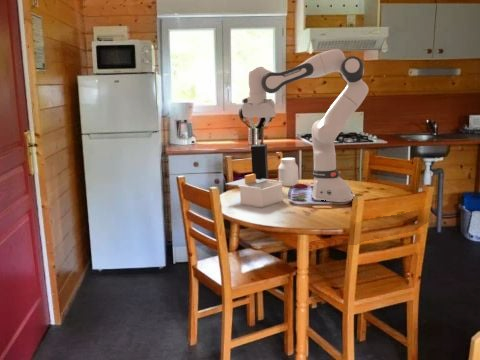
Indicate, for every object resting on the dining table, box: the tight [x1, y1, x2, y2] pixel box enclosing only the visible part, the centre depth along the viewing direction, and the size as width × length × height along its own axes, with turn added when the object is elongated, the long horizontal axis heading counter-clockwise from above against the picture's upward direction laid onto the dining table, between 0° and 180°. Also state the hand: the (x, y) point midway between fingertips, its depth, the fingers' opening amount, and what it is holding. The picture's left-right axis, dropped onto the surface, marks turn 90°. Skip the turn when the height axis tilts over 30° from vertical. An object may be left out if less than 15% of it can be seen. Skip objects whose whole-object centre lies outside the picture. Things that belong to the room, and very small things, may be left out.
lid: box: [225, 173, 267, 187], centre depth 244 cm, size 14×16×5 cm
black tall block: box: [250, 139, 269, 180], centre depth 269 cm, size 8×8×28 cm
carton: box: [237, 178, 284, 209], centre depth 239 cm, size 14×18×10 cm
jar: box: [277, 157, 300, 187], centre depth 278 cm, size 12×10×15 cm
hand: (259, 125), depth 251 cm, fingers open, 8 cm apart
